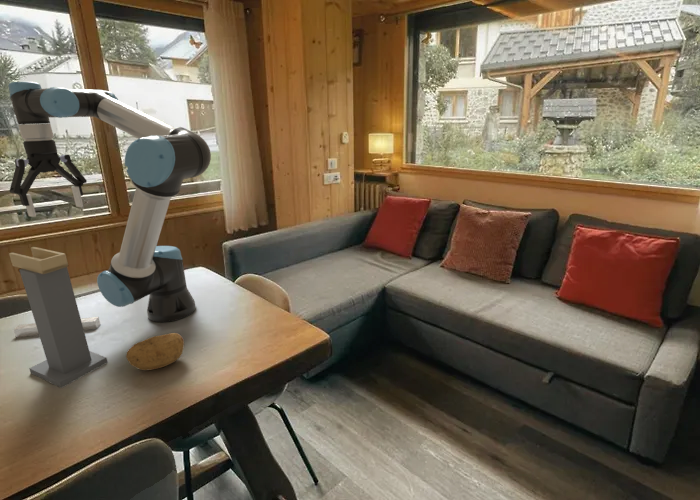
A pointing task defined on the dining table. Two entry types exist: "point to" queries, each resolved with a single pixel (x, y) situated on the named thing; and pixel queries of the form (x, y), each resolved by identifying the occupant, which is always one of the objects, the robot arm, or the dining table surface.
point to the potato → (156, 351)
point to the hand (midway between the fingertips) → (57, 211)
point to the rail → (32, 330)
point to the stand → (56, 317)
